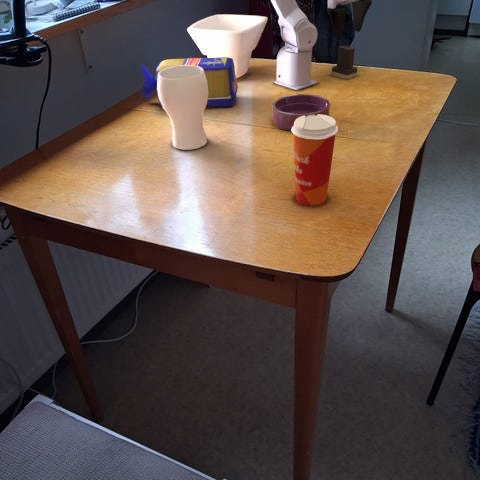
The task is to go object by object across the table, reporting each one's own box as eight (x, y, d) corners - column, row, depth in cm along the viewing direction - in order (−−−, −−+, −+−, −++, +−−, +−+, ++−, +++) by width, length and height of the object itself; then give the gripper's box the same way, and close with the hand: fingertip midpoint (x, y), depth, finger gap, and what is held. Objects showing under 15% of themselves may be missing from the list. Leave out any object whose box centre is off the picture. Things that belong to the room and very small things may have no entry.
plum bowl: (260, 121, 116) (260, 104, 114) (301, 106, 122) (301, 90, 119) (299, 137, 108) (299, 119, 106) (340, 120, 114) (341, 103, 111)
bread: (236, 109, 123) (233, 65, 116) (142, 111, 126) (133, 68, 119) (239, 95, 131) (237, 53, 124) (150, 97, 133) (143, 56, 126)
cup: (219, 135, 112) (213, 65, 101) (202, 155, 105) (194, 81, 94) (178, 131, 115) (168, 63, 104) (158, 150, 107) (146, 78, 97)
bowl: (217, 64, 153) (213, 13, 143) (273, 69, 146) (273, 16, 136) (187, 83, 141) (181, 28, 131) (247, 89, 134) (245, 32, 124)
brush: (331, 75, 139) (333, 47, 134) (341, 71, 141) (343, 44, 136) (347, 79, 135) (349, 51, 130) (356, 76, 137) (359, 47, 132)
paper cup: (287, 190, 91) (288, 115, 82) (327, 186, 91) (332, 111, 82) (293, 211, 86) (295, 133, 76) (336, 207, 86) (343, 128, 76)
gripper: (343, -21, 117) (339, 42, 126) (383, -31, 123) (376, 30, 132) (322, -23, 121) (320, 38, 130) (361, -33, 127) (356, 26, 136)
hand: (347, 34), depth 131 cm, fingers open, 7 cm apart
